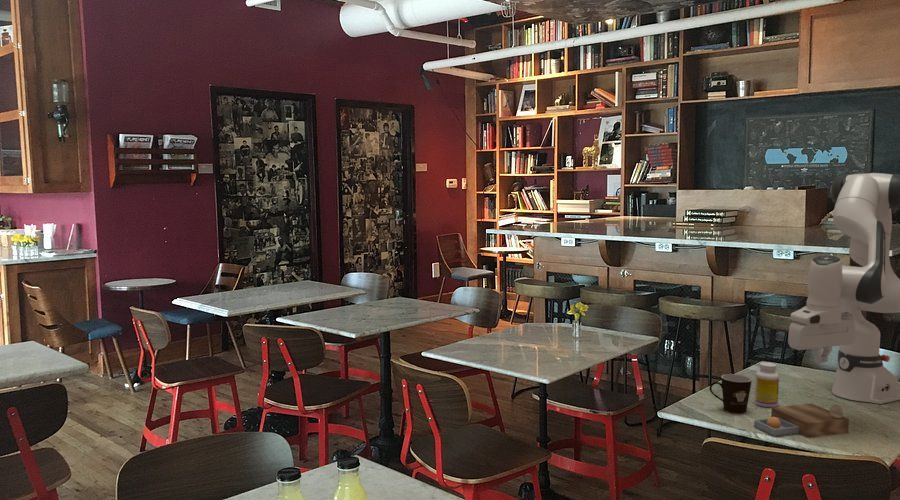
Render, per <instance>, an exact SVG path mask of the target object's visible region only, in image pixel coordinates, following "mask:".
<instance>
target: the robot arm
mask: <svg viewBox="0 0 900 500" xmlns="http://www.w3.org/2000/svg"><path fill="white" fill-rule="evenodd" d="M830 196H831V200H832V202H833V203H834V208H833V213H832V220H833V221H832V222H833V224H834V225H835V227H836V229H837V230H839V231H840V232H841V233H843V234H844V235H846V236H847V237H850V241H849V242H850V243H849V249H848V254H849V257H850V258H851V260H852V261H853V262H855V263H856V264H858V265H859V266H852V265H850V266H849V265H843V264H842V263H843V262H842V260H841V258H840V257H838V256H835V255H826V254H825V255H818V256H815V257H813V258H812V259H811V261H810V263H809V268H808V269H809V270H808V275H807V284H806V285H807V287H806V289H807V292H808V296H807V299H806V305H805V306H802V307H801V308H800V309H798V310H797V309H796V310H795V311H794V312H791V314H790V315H789V316H790V320H791V321H792V322H791V323H790V325H789V327H788V328H789V329H788V337H787V339H788V340H787V341H788V342H787V343H788V345H789V346H788V347H790V348H792V350H793V349H794V350H797V351H804V350H811V352H812V354H813V356H814V362H815V363H817V364H821V363H828V362H829V360H828V358H829V356H830V354H831V353H832V351H833V347H839V350H838V352H837V363H838V364H837V367H836V374H835V378H834V383H833V384H832V386H831V387H832V390H831V393H832V394H833V395H835V396H837V397H839V398H843V399H845V400H846V399H847V400H851V401H857V402H867V403H872V404H878V405H883V404H886V403H890V402H895V401H900V382H899V379H898V377H897V376H896V375H895V374H893V373H892V372H891V371H890V370H889V369H887V367H885V366H884V363H883V362H886V363H889V362H890V359H891V357H890V356H889V355H886V354H882V355H881V354H880V347H881V332H880V329H879V328H878V326H876V325H875V324H874V323H872V322H870V321H868V320H867V319H866V318H865V317H864V315H863V314H862V311H865V312H872V313H878V314H879V313H881V314H893V313H895V314H896V313H900V278H899V277H898V276H897V275H896V273H895V272H894V269H893V268H892V265H891V260H890V249H891V248H890V247H891V240H892V228H893V227H892V226H893V219H892V218H893V217H892V214H895V213H897V211H898V210H900V173H899V174H898V173H892V174H891V173H880V172H870V173H853V174H849V173H846V174H840V175H837V176H836V177H835V178H834V179H833V180H832V183H831V186H830ZM822 349H823V350H822Z"/></svg>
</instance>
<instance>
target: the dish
mask: <svg viewBox="0 0 900 500" xmlns="http://www.w3.org/2000/svg"><path fill="white" fill-rule="evenodd" d="M769 418H770V417H768V418H761V419H754V420H753V427H754V428H756V429H758V430H759V431H762V432H763V433H766V434H768V435H770V436H771V437H774V438H775V437H785V436H784V435H786V436H793V434H795V435H800V434H799V427H798V426H796V425H794V424H792V423H790V422H787V421H785V420H783V419H781V418H779V417H778V419H779V420H780V422H781V426H780V428H778V429H774V428H772V427H770V426H768V425H767V420H768V419H769ZM790 434H792V435H790Z"/></svg>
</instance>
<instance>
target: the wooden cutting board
mask: <svg viewBox="0 0 900 500" xmlns="http://www.w3.org/2000/svg"><path fill="white" fill-rule="evenodd" d="M829 410H830V409H826V408H824V407H822V406H818V405H816V404H814V403H802V404H793V405H785V406H783V405H782V406H776V407H771V411H770V412H771V413H770V414H771V415H770V417H777V418H778V417H779V418H781V419H783V420H785V421H787V422H790V423H792V424H794V425H796V426H798V427H799V434H798V435H799V436H802V437H805V438H807V439H808V438H815V437H824V436H832V435H841V434H848V433H849V430H850V418H849V417H846V416H844V415H843V416H842V417H841V418H834V417H832V416H831V415H830V412H829Z"/></svg>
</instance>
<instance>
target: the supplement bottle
mask: <svg viewBox="0 0 900 500" xmlns="http://www.w3.org/2000/svg"><path fill="white" fill-rule="evenodd" d="M759 369H760V370H758V371H756V373H755V385H754V404H755V405H757V406H760V407H763V408H772V407H778V404H779V403H778V402H779V387H780V385H779V384H780V375H779V374H778V373H777V372H776V370H777V365H776V364H775V363H772V362H765V361H764V362H760V363H759Z"/></svg>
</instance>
